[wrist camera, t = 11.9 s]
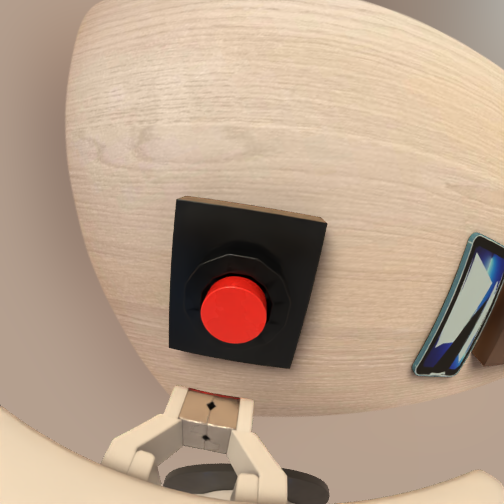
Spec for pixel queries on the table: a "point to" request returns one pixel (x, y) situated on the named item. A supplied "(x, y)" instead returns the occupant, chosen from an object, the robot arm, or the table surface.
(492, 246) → the smartphone
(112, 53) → the table surface
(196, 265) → the switch box
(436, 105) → the table surface
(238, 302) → the light button
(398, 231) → the table surface
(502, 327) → the dial panel
